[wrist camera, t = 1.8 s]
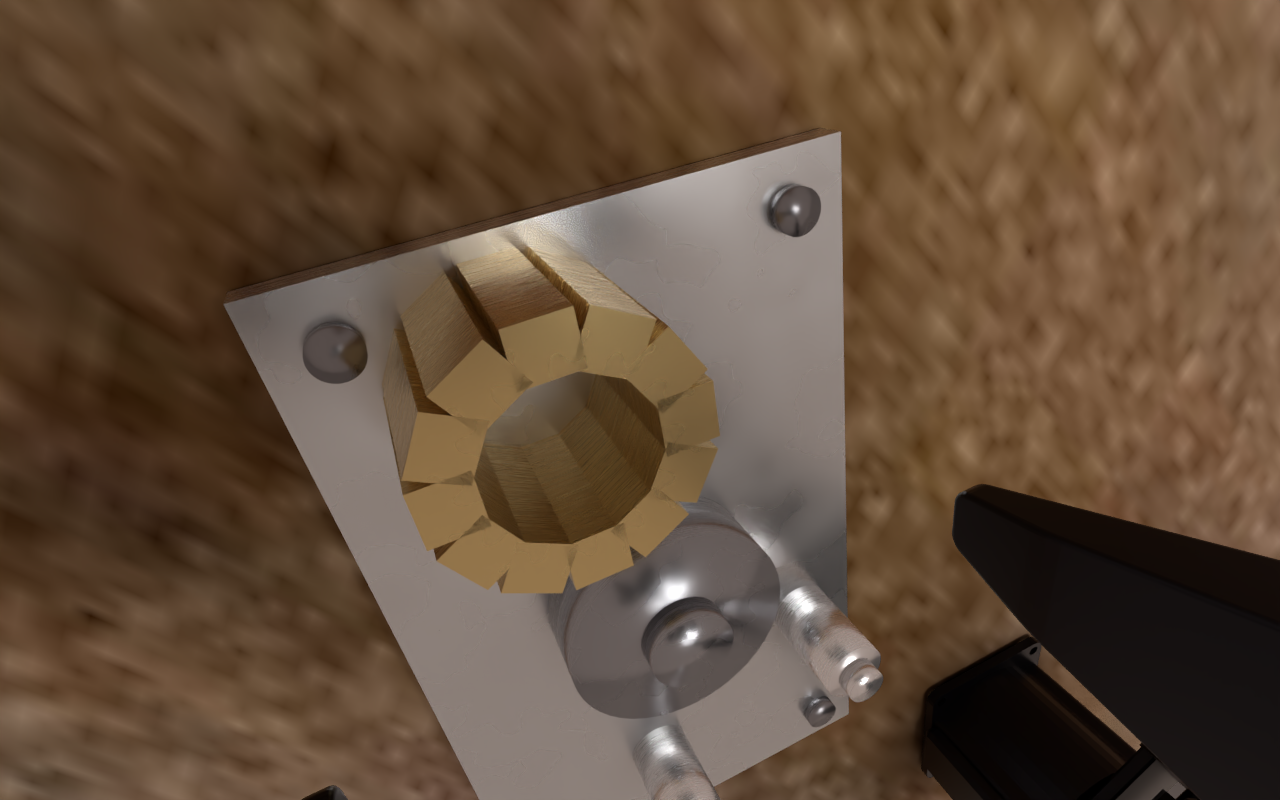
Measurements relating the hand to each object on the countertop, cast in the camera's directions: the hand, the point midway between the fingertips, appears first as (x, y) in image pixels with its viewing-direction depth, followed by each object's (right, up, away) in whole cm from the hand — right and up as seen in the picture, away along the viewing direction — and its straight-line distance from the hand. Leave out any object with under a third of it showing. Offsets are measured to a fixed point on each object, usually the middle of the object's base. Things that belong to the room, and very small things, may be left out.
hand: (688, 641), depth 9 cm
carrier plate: (-1, -2, +12) cm, 12 cm away
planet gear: (-3, +4, +7) cm, 9 cm away
